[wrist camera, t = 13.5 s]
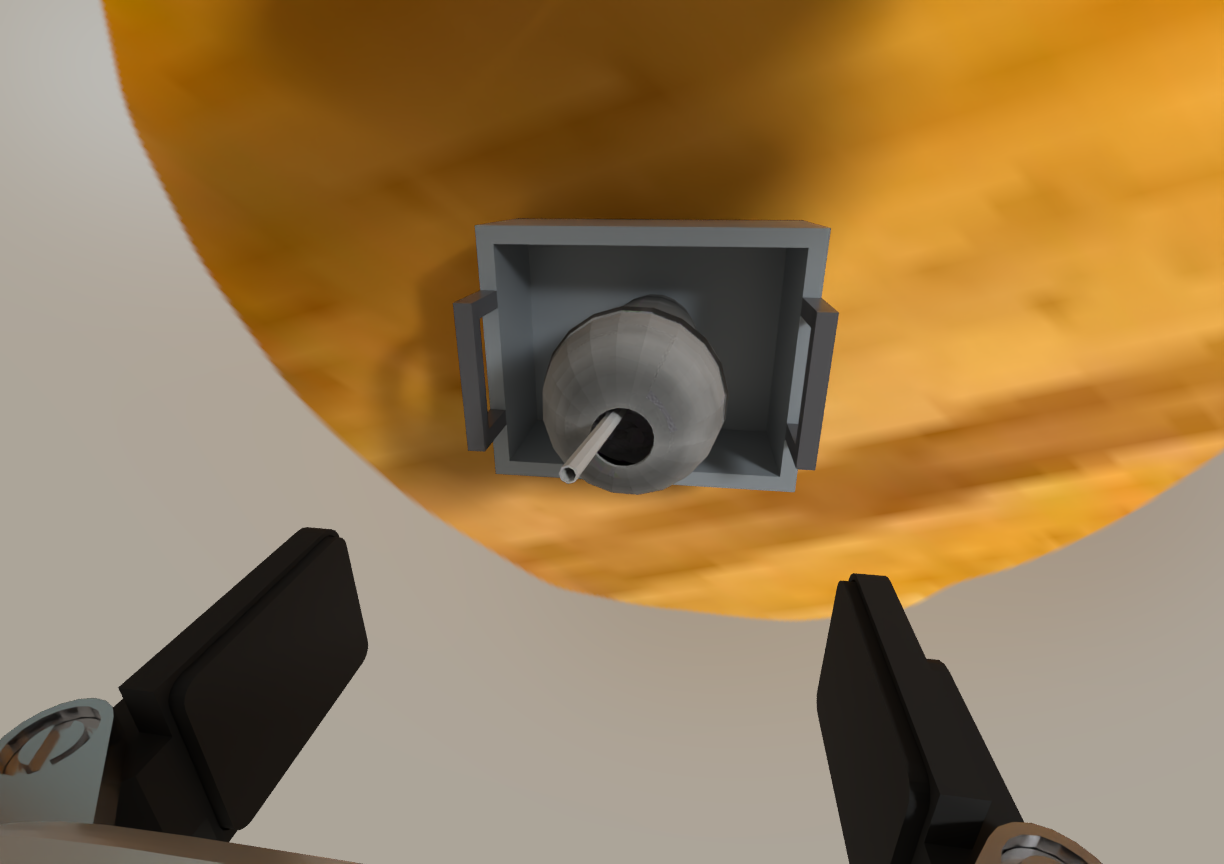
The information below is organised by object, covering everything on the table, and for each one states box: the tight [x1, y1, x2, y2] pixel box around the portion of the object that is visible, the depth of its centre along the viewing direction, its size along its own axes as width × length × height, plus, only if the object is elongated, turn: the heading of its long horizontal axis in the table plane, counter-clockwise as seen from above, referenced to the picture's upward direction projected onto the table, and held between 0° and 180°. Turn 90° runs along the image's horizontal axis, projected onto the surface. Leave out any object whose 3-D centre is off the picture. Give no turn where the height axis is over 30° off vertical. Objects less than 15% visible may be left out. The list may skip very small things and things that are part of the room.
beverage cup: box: [543, 294, 729, 495], centre depth 24 cm, size 7×7×20 cm
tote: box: [453, 218, 839, 492], centre depth 29 cm, size 16×13×10 cm
